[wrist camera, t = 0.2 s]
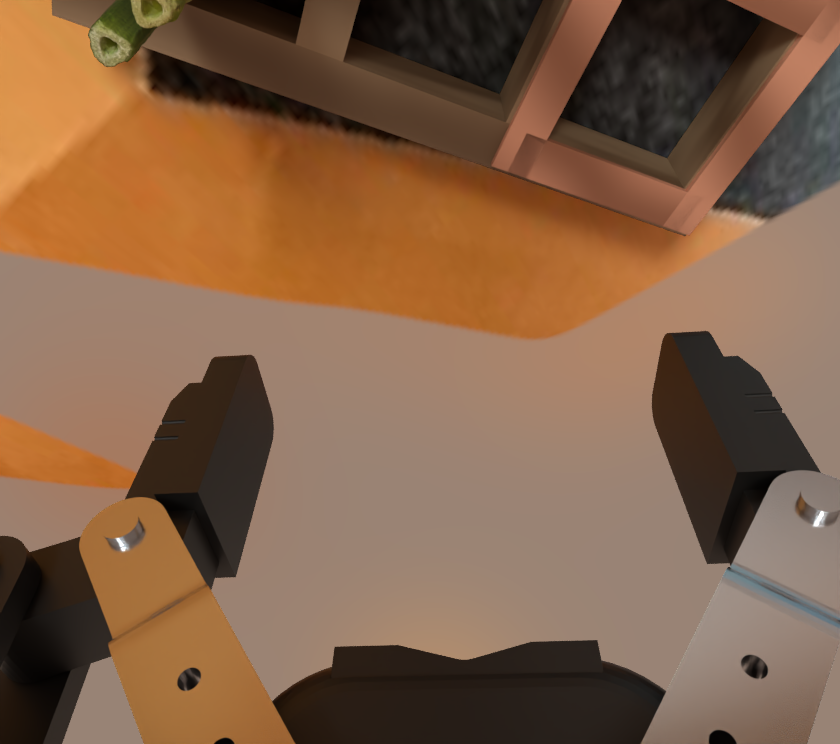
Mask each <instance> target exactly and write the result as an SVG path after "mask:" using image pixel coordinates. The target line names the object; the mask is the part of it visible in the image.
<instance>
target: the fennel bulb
mask: <svg viewBox="0 0 840 744" xmlns="http://www.w3.org/2000/svg"><path fill="white" fill-rule="evenodd" d="M190 1H192V0H115V2H114V3H113V4H112V5H111V6H109V8H108V9H107V10H106V11H105V12H104V13H103V14H102V15H101V16H100V18H98V20H97V21H96V22H95V23H94V24H93V25H92V26H91V29H90V30H89V34H88V36H89V38H90V46H91V49H92V51H93V54H94V56H95V58H97V60H98V61H99V62H101V63H102V64H103V65H104V66H106V67H113V66H116V65H117V64H119V63H122V62H128V61H129V60H130V59H131V58H132V57H133V56H134V55H135V54H136V52H137V51H138V50H139V49H140V47H141V46H142V45H143V44H144V43H145V42H146V41H147V39H148V38H149V37H150V36H151V34H152V33H153V32H154V30H155V29H156V28H157V27H159V26H162V25H165V24H166V23H169V22H174V21H176V20H177V19H178V17H179V15H180V13H181V12H182V10H183V8H184V5H185V4H186V3H187V2H190Z"/></svg>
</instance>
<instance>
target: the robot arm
mask: <svg viewBox="0 0 840 744" xmlns="http://www.w3.org/2000/svg"><path fill="white" fill-rule="evenodd" d="M652 412H653V418H654V423H655V426H656V429H657V432H658V434H659V437H660V439H661V442H662V445H663V448H664V450H665V453H666V456H667V458H668V461H669V464H670V466H671V469H672V472H673V474H674V477H675V480H676V482H677V485H678V488H679V490H680V493H681V496H682V498H683V501H684V504H685V506H686V509H687V512H688V514H689V517H690V520H691V522H692V525H693V528H694V530H695V533H696V536H697V538H698V541H699V543H700V546H701V549H702V552H703V554H704V557H705V559H706V562H707V564H714V563H715V564H717V563H730V565H731V567H728V568H727V570H726V571H725V573H724V575H723V577H722V579H721V581H720V583H719V585H718V587H717V589H716V591H715V593H714V596H713V597H712V599H711V601H710V604H709V606H708V608H707V610H706V612H705V614H704V616H703V618H702V620H701V622H700V624H699V626H698V628H697V630H696V632H695V634H694V636H693V638H692V640H691V642H690V644H689V646H688V649H687V651H686V653H685V654H684V657H683V659H682V661H681V663H680V665H679V667H678V669H677V671H676V673H675V675H674V677H673V679H672V681H671V683H670V685H669V687H668V689H667V691H665V690H664V689H662V688H661V687H660V686H658V685H656V684H655V683H653V682H651V681H650V680H649V679H647V678H645V677H644V676H641V675H639V674H637V673H635V672H633V671H631V670H629V669H627V668H624V667H621V666H618V665H615V664H613V663H609V662H605V661H601V656H600V652H599V647H598V642H597V640H588V641H549V642H530V643H526V644H522V645H519V646H516V647H512V648H508V649H505V650H501V651H498V652H495V653H491V654H488V655H484V656H481V657H477V658H474V659H469V660H459V659H454V658H450V657H446V656H442V655H437V654H433V653H429V652H424V651H420V650H416V649H412V648H407V647H403V646H399V645H389V646H349V647H335V649H334V656H333V664H332V667H330V668H327V669H324V670H321V671H319V672H317V673H315V674H312V675H310V676H308V677H306V678H304V679H302V680H301V681H299V682H297V683H295V684H294V685H292V686H291V687H289V688H288V689H287V690H285V691H284V692H282V693H281V694H280V695H279V696H278V697H276V698H275V699H274V700H273V701H271V699H270V697H269V695H268V693H267V692H266V690H265V688H264V686H263V685H262V683H261V681H260V679H259V677H258V675H257V674H256V672H255V670H254V668H253V666H252V664H251V662H250V661H249V659H248V657H247V655H246V654H245V651H244V650H243V648H242V646H241V644H240V642H239V641H238V639H237V637H236V635H235V633H234V632H233V630H232V628H231V626H230V624H229V622H228V621H227V619H226V617H225V615H224V613H223V612H222V610H221V608H220V606H219V604H218V603H217V601H216V599H215V597H214V595H213V593H212V592H211V589H212V585H213V582H214V579H215V578H221V577H236V574H237V570H238V567H239V563H240V559H241V556H242V552H243V548H244V544H245V541H246V537H247V533H248V530H249V526H250V522H251V518H252V515H253V511H254V507H255V503H256V500H257V496H258V492H259V489H260V485H261V482H262V478H263V474H264V470H265V467H266V463H267V459H268V455H269V452H270V448H271V444H272V440H273V430H274V427H273V416H272V411H271V407H270V404H269V401H268V397H267V394H266V391H265V387H264V384H263V381H262V378H261V374H260V371H259V368H258V364H257V362H256V359H255V358H254V356H252V355H240V356H222V357H214V358H213V359H212V360H211V362H210V364H209V367H208V369H207V371H206V374H205V376H204V378H203V381H202V383H190V384H188V385H187V386H186V387H185V388H184V389H183V390H182V391H181V392H180V393H179V394H178V395H177V396H176V397H175V398H174V399H173V400H172V401H171V403H170V405H169V407H168V409H167V411H166V413H165V415H164V417H163V419H162V425H160V426H159V428H158V430H157V432H156V434H155V437H154V438H155V440H154V441H152V443H151V445H150V448H149V450H148V452H147V454H146V456H145V458H144V460H143V462H142V464H141V466H140V469H139V471H138V473H137V475H136V477H135V479H134V481H133V483H132V486H131V488H130V490H129V492H128V494H127V496H126V498H125V500H122V501H119V502H117V503H115V504H112V505H111V506H109V507H107V508H106V509H104V510H102V511H101V512H100V513H98V514H97V515H96V516H95V517H94V518H93V519H92V520H91V521H90V522H89V524H88V525H87V526H86V528H85V529H84V531H83V533H82V535H81V537H78V538H75V539H72V540H69V541H66V542H62V543H59V544H56V545H52V546H49V547H46V548H43V549H39V550H36V551H32V552H29V551H28V550H27V548H26V547H25V546H24V544H23V543H22V542H21V541H20V540H18V539H16V538H14V537H9V536H0V744H62V742H63V739H64V736H65V734H66V731H67V728H68V725H69V723H70V720H71V716H72V714H73V711H74V709H75V706H76V703H77V700H78V697H79V694H80V692H81V689H82V686H83V683H84V681H85V678H86V675H87V672H88V669H89V667H90V664H91V663H93V662H96V661H99V660H102V659H105V658H108V657H111V656H112V659H113V662H114V664H115V667H116V669H117V672H118V675H119V678H120V680H121V683H122V686H123V689H124V691H125V694H126V697H127V699H128V702H129V705H130V707H131V710H132V713H133V716H134V718H135V721H136V724H137V726H138V729H139V732H140V735H141V737H142V740H143V743H144V744H807V743H808V740H809V737H810V733H811V730H812V727H813V724H814V721H815V718H816V714H817V712H818V708H819V705H820V702H821V699H822V696H823V693H824V690H825V687H826V683H827V680H828V677H829V674H830V671H831V668H832V665H833V662H834V658H835V655H836V652H837V649H838V645H839V643H840V480H839V479H837V478H834V477H832V476H829V475H826V474H823V473H821V472H820V471H819V469H818V467H817V466H816V464H815V462H814V461H813V459H812V457H811V456H810V454H809V453H808V451H807V449H806V448H805V446H804V444H803V443H802V441H801V439H800V438H799V436H798V434H797V433H796V431H795V429H794V428H793V426H792V425H791V423H790V421H789V420H788V418H787V416H786V415H785V414H784V413H782V408H781V407H780V405H779V403H778V402H777V400H776V398H775V397H772V392H771V390H770V388H769V387H768V385H767V383H766V382H765V380H764V379H763V377H762V375H761V374H760V372H758V371H757V370H756V369H754V368H753V367H752V366H750V365H749V364H748V363H747V362H745V361H744V360H743V359H741V358H740V357H739V356H728V357H724V356H723V355H722V353H721V351H720V349H719V348H718V346H717V344H716V342H715V340H714V339H713V337H712V335H711V334H710V333H709V332H708V331H701V332H682V333H667V334H666V335H665V336H664V338H663V341H662V346H661V351H660V357H659V362H658V367H657V373H656V378H655V383H654V388H653V394H652Z"/></svg>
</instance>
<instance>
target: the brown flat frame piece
mask: <svg viewBox="0 0 840 744" xmlns="http://www.w3.org/2000/svg"><path fill="white" fill-rule="evenodd" d="M621 1H622V0H543V1H542V3H541V5H540V7H539V9H538V12H537V14H536V16H535V18H534V20H533V23H532V25H531V27H530V29H529V31H528V33H527V36H526V38H525V40H524V42H523V44H522V47H521V49H520V51H519V53H518V55H517V58H516V60H515V62H514V64H513V66H512V68H511V71H510V73H509V75H508V77H507V79H506V82H505V84H504V86H503V88H502V90H501V92H500V94H498V93H495V92H492V91H490V90H487V89H485V88H482V87H479V86H477V85H474V84H472V83H469V82H466V81H464V80H461V79H458V78H456V77H453V76H451V75H448V74H445V73H443V72H440V71H438V70H435V69H432V68H430V67H427V66H425V65H422V64H419V63H417V62H414V61H411V60H409V59H406V58H404V57H401V56H398V55H396V54H393V53H391V52H388V51H385V50H383V49H380V48H377V47H375V46H372V45H370V44H367V43H364V42H362V41H359V40H357V39H354V38H351V37H350V35H351V31H352V28H353V24H354V21H355V17H356V13H357V10H358V6H359V3H360V0H305V5H304V9H303V14H302V18H299V17H296V16H294V15H291V14H289V13H286V12H283V11H281V10H278V9H276V8H273V7H270V6H268V5H265V4H262V3H260V2H257V1H255V0H192V1H190V2H187V3H186V4H185V5H184V8H183V10H182V12H181V13H180V15H179V17H178V19H177V20H176V21H174V22H169V23H166V24H165V25H162V26H159V27H157V28H156V29H155V30H154V32H153V33H152V34H151V36H150V37H149V38H148V39H147V41H146V42H145V43H144V44H143V45H142V47H145V48H148V49H151V50H154V51H157V52H159V53H162V54H165V55H168V56H171V57H174V58H177V59H179V60H182V61H185V62H188V63H191V64H194V65H197V66H199V67H202V68H205V69H208V70H211V71H214V72H217V73H219V74H222V75H225V76H228V77H231V78H234V79H237V80H239V81H242V82H245V83H248V84H251V85H254V86H257V87H260V88H262V89H265V90H268V91H271V92H274V93H277V94H280V95H282V96H285V97H288V98H291V99H294V100H297V101H300V102H302V103H305V104H308V105H311V106H314V107H317V108H320V109H322V110H325V111H328V112H331V113H334V114H337V115H340V116H342V117H345V118H348V119H351V120H354V121H357V122H360V123H363V124H365V125H368V126H371V127H374V128H377V129H380V130H383V131H385V132H388V133H391V134H394V135H397V136H400V137H403V138H405V139H408V140H411V141H414V142H417V143H420V144H423V145H425V146H428V147H431V148H434V149H437V150H440V151H443V152H445V153H448V154H451V155H454V156H457V157H460V158H463V159H466V160H468V161H471V162H474V163H477V164H480V165H483V166H486V167H488V168H491V169H494V170H497V171H500V172H503V173H506V174H508V175H511V176H514V177H517V178H520V179H523V180H526V181H528V182H531V183H534V184H537V185H540V186H543V187H546V188H548V189H551V190H554V191H557V192H560V193H563V194H566V195H569V196H571V197H574V198H577V199H580V200H583V201H586V202H589V203H591V204H594V205H597V206H600V207H603V208H606V209H609V210H611V211H614V212H617V213H620V214H623V215H626V216H629V217H631V218H634V219H637V220H640V221H643V222H646V223H649V224H651V225H654V226H657V227H660V228H663V229H666V230H669V231H672V232H674V233H677V234H680V235H683V236H686V235H690V234H691V233H692V231H693V230H694V229H695V228H696V226H697V225H698V224H699V223H700V221H701V220H702V219H703V217H704V216H705V215H706V214H707V212H708V211H709V210H710V209H711V207H712V206H713V205H714V203H715V202H716V201H717V200H718V198H719V197H720V196H721V194H722V193H723V192H724V191H725V189H726V188H727V187H728V186H729V184H730V183H731V182H732V180H733V179H734V178H735V177H736V175H737V174H738V173H739V171H740V170H741V169H742V168H743V166H744V165H745V164H746V163H747V161H748V160H749V159H750V157H751V156H752V155H753V154H754V152H755V151H756V150H757V148H758V147H759V146H760V145H761V143H762V142H763V141H764V140H765V138H766V137H767V136H768V134H769V133H770V132H771V131H772V129H773V128H774V127H775V126H776V124H777V123H778V122H779V120H780V119H781V118H782V117H783V115H784V114H785V113H786V111H787V110H788V109H789V108H790V106H791V105H792V104H793V103H794V101H795V100H796V99H797V97H798V96H799V95H800V94H801V92H802V91H803V90H804V88H805V87H806V86H807V85H808V83H809V82H810V81H811V80H812V78H813V77H814V76H815V74H816V73H817V72H818V71H819V69H820V68H821V67H822V65H823V64H824V63H825V62H826V60H827V59H828V58H829V57H830V55H831V54H832V53H833V51H834V50H835V49H836V48H837V46H838V45H839V44H840V0H728V1H730V2H732V3H734V4H736V5H738V6H740V7H742V8H745V9H747V10H749V11H751V12H753V13H755V14H757V15H760V16H762V17H764V18H763V19H762V21H761V22H760V24H759V25H758V27H757V28H756V30H755V31H754V33H753V34H752V35H751V37H750V38H749V40H748V41H747V43H746V44H745V46H744V47H743V49H742V50H741V51H740V53H739V54H738V56H737V57H736V59H735V60H734V62H733V63H732V65H731V66H730V68H729V69H728V70H727V72H726V73H725V75H724V76H723V78H722V79H721V81H720V82H719V84H718V85H717V86H716V88H715V89H714V91H713V92H712V94H711V95H710V97H709V98H708V100H707V101H706V102H705V104H704V105H703V107H702V108H701V110H700V111H699V113H698V114H697V116H696V117H695V118H694V120H693V121H692V123H691V124H690V126H689V127H688V129H687V130H686V132H685V133H684V134H683V136H682V137H681V139H680V140H679V142H678V143H677V145H676V146H675V148H674V149H673V150H672V152H671V153H670V155H669V156H668V158H665V157H662V156H660V155H657V154H654V153H652V152H649V151H647V150H644V149H641V148H639V147H636V146H634V145H631V144H628V143H626V142H623V141H621V140H618V139H615V138H613V137H610V136H607V135H605V134H602V133H600V132H597V131H594V130H592V129H589V128H587V127H584V126H581V125H579V124H576V123H573V122H571V121H568V120H566V119H563V118H560V115H561V113H562V111H563V109H564V107H565V106H566V104H567V102H568V100H569V98H570V96H571V94H572V92H573V91H574V89H575V87H576V85H577V83H578V81H579V79H580V78H581V76H582V74H583V72H584V70H585V68H586V66H587V64H588V63H589V61H590V59H591V57H592V55H593V53H594V51H595V50H596V48H597V46H598V44H599V42H600V40H601V38H602V36H603V35H604V33H605V31H606V29H607V27H608V25H609V23H610V22H611V20H612V18H613V16H614V14H615V12H616V10H617V8H618V7H619V5H620V3H621ZM114 2H115V0H52V15H54V16H56V17H59V18H62V19H65V20H68V21H71V22H74V23H76V24H79V25H82V26H85V27H88V28H91V26H92V25H93V24H94V23H95V22H96V21H97V20H98V18H100V16H101V15H102V14H103V13H104V12H105V11H106V10H107V9H108V8H109V6H111V5H112V4H113V3H114Z"/></svg>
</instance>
